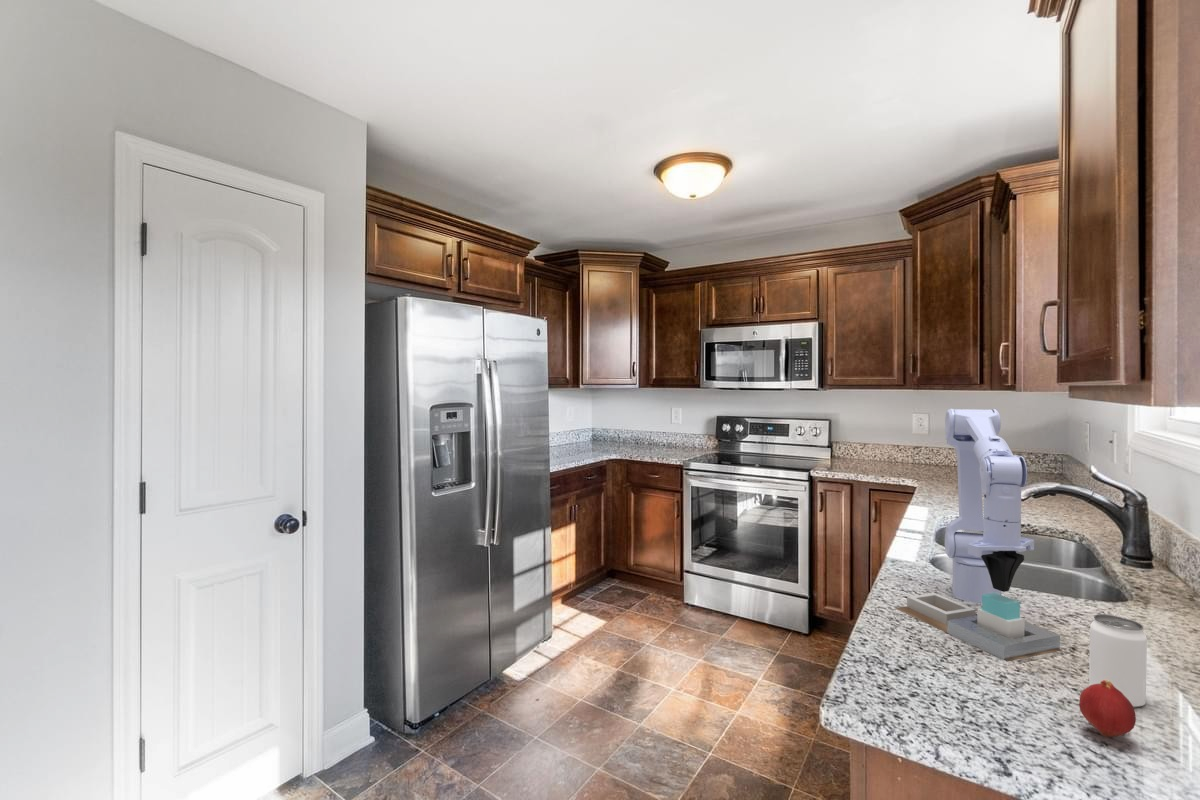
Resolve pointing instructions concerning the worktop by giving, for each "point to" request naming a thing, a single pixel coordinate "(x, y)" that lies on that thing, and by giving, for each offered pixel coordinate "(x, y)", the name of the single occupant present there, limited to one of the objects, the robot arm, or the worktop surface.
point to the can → (1119, 656)
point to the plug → (1001, 615)
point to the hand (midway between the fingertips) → (1000, 589)
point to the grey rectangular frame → (953, 608)
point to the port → (1003, 638)
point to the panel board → (944, 628)
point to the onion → (1107, 709)
